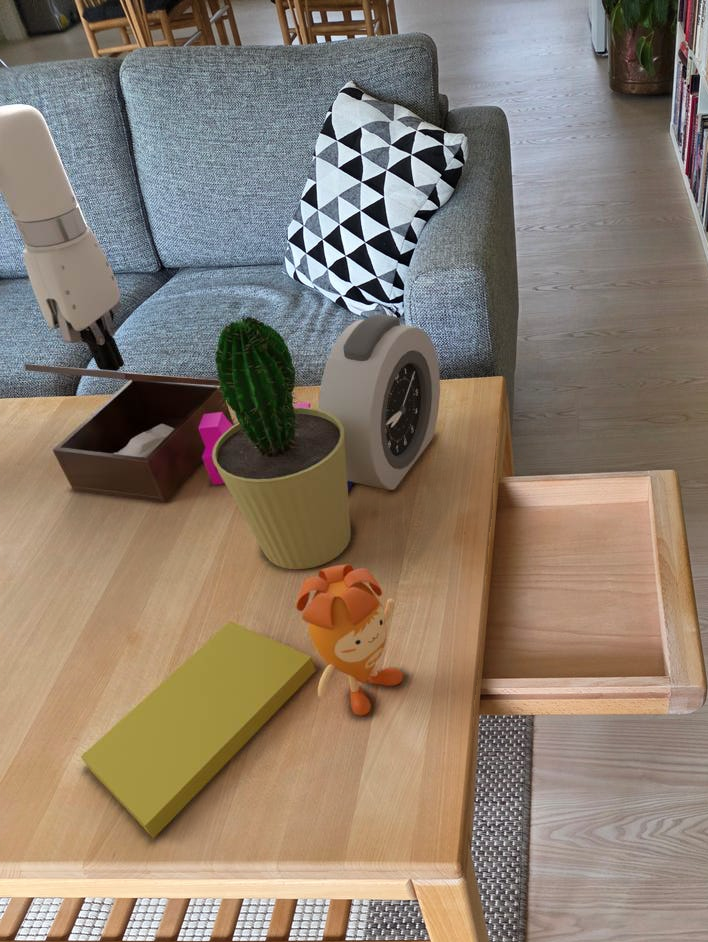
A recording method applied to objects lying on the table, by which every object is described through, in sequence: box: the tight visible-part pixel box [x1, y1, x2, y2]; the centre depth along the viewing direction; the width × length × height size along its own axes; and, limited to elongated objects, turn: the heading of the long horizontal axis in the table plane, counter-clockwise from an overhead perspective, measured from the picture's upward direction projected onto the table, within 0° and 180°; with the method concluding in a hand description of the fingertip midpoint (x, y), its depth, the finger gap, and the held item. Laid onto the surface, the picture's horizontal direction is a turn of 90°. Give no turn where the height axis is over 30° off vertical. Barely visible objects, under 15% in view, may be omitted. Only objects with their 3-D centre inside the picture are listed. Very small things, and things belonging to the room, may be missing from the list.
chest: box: [52, 380, 235, 503], centre depth 126 cm, size 20×16×7 cm
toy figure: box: [295, 564, 404, 717], centre depth 87 cm, size 12×8×15 cm, turn 141°
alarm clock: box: [317, 313, 441, 491], centre depth 115 cm, size 21×8×20 cm, turn 158°
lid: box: [24, 363, 220, 386], centre depth 120 cm, size 20×16×1 cm
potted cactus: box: [206, 312, 352, 570], centre depth 100 cm, size 15×15×30 cm
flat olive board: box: [80, 620, 317, 839], centre depth 90 cm, size 12×2×24 cm
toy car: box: [113, 424, 174, 458], centre depth 125 cm, size 6×12×3 cm, turn 143°
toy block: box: [198, 401, 312, 485], centre depth 121 cm, size 15×6×8 cm, turn 91°
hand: (111, 367), depth 117 cm, fingers closed
